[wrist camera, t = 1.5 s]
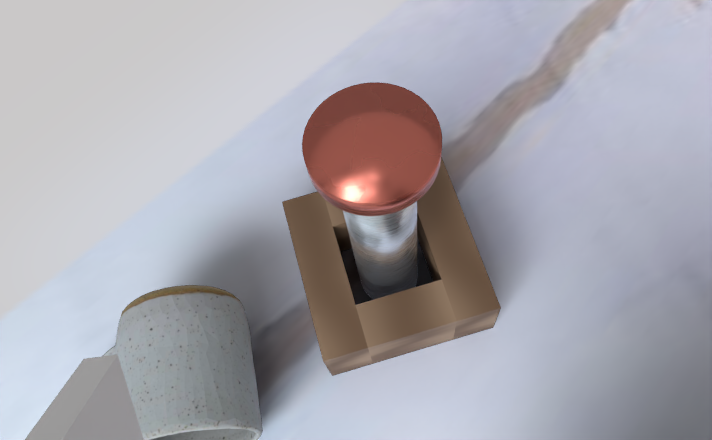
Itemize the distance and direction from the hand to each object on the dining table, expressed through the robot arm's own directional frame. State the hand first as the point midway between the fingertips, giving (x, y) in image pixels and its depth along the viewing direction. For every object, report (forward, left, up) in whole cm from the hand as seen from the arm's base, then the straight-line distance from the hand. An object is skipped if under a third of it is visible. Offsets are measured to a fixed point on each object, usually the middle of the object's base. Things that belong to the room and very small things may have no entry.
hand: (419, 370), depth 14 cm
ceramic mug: (-12, +7, -24) cm, 28 cm away
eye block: (+1, +11, -24) cm, 26 cm away
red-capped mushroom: (+1, +11, -24) cm, 26 cm away
